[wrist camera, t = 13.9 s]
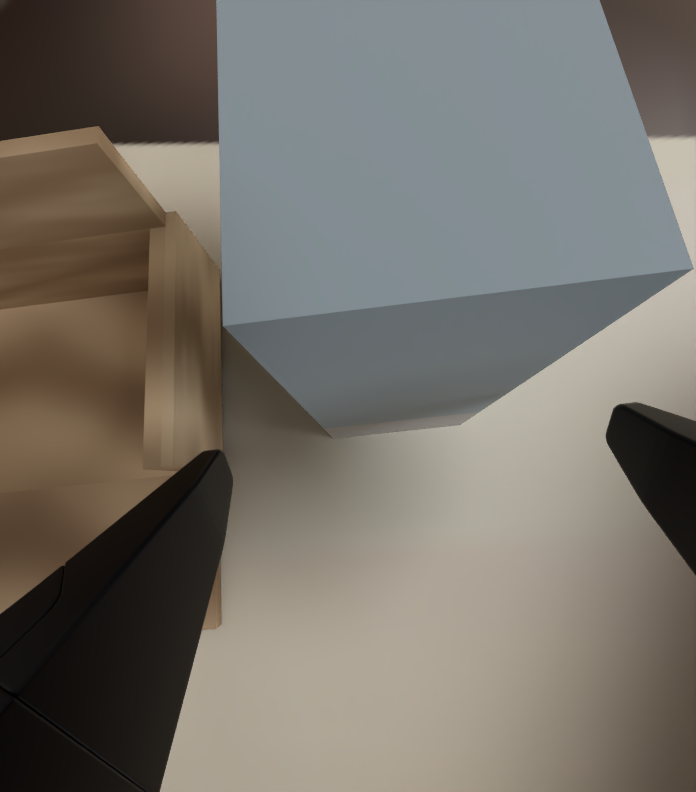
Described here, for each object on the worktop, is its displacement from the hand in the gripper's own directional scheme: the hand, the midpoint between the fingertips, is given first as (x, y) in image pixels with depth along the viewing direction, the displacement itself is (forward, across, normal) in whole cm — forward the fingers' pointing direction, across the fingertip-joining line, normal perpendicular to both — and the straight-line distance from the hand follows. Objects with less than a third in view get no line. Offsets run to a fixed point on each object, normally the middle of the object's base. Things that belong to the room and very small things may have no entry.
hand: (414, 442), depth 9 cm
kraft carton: (+7, +15, +4) cm, 17 cm away
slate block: (+8, 0, +2) cm, 8 cm away
